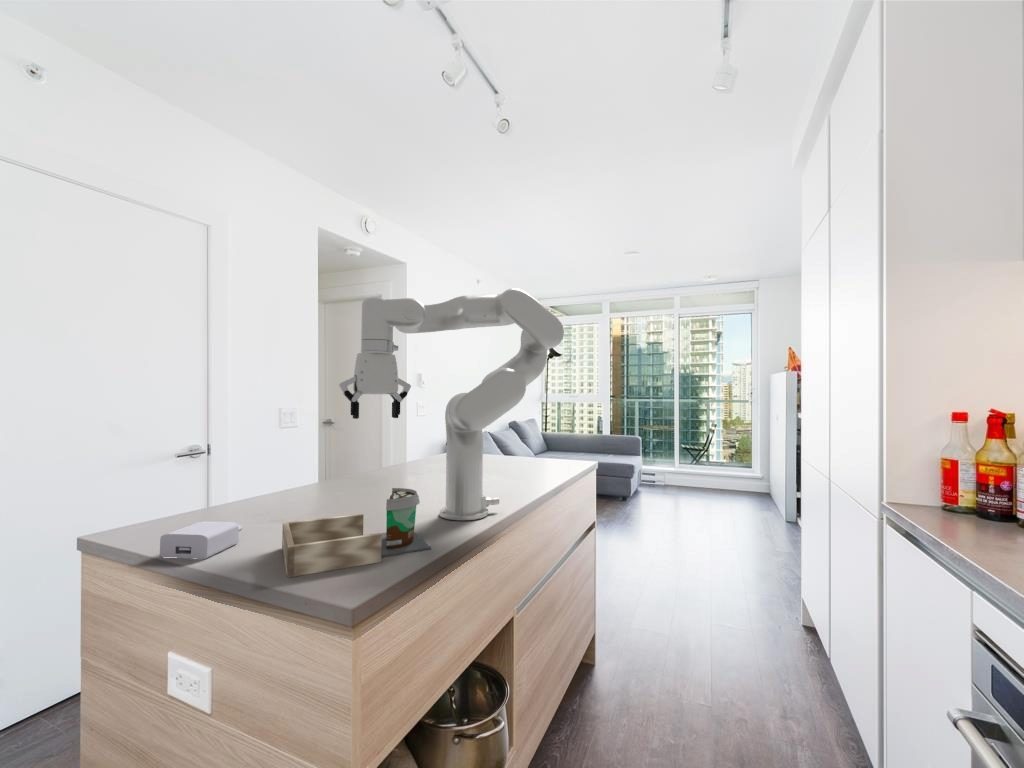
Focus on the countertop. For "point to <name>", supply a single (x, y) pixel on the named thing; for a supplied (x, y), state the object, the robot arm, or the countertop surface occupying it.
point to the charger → (200, 540)
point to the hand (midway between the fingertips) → (375, 418)
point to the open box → (328, 545)
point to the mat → (414, 546)
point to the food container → (401, 517)
